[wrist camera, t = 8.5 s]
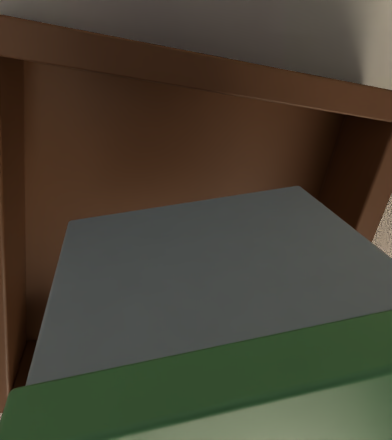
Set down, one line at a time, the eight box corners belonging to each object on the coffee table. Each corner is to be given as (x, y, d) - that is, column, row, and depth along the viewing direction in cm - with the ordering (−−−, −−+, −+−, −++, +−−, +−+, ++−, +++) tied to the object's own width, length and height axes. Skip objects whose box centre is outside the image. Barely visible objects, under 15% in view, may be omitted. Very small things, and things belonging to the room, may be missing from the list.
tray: (364, 86, 13) (431, 97, 10) (277, 344, 18) (307, 401, 15) (-4, 14, 10) (-48, 4, 7) (7, 345, 15) (-17, 415, 12)
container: (294, 378, 11) (415, 605, 7) (115, 418, 10) (115, 704, 6) (304, 179, 8) (524, 339, 4) (61, 216, 8) (-18, 465, 3)
